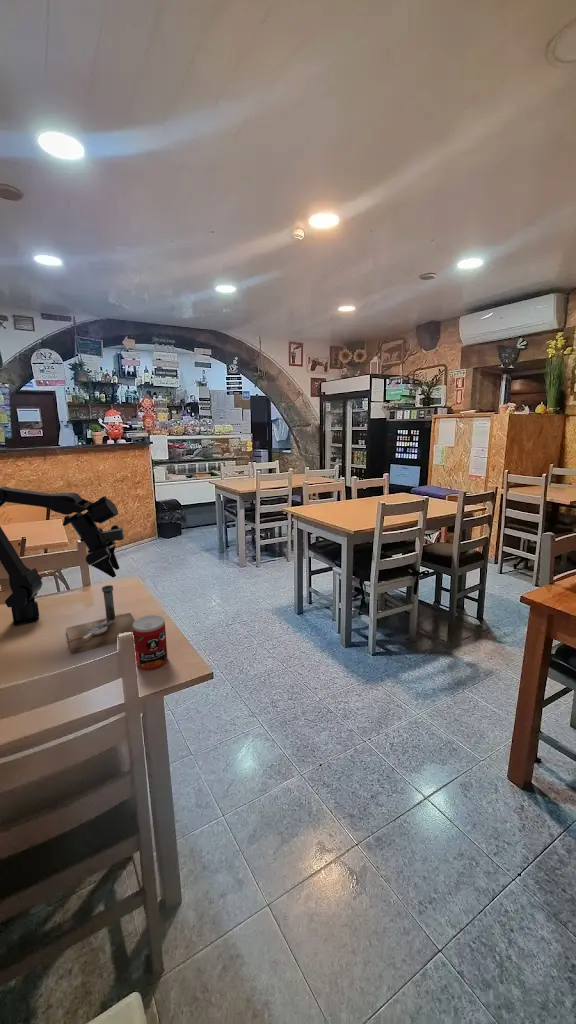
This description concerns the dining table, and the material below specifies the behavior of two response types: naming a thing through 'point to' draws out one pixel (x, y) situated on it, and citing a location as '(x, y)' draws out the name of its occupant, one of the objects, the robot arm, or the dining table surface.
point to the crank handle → (110, 615)
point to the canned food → (150, 642)
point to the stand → (79, 631)
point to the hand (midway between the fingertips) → (116, 572)
